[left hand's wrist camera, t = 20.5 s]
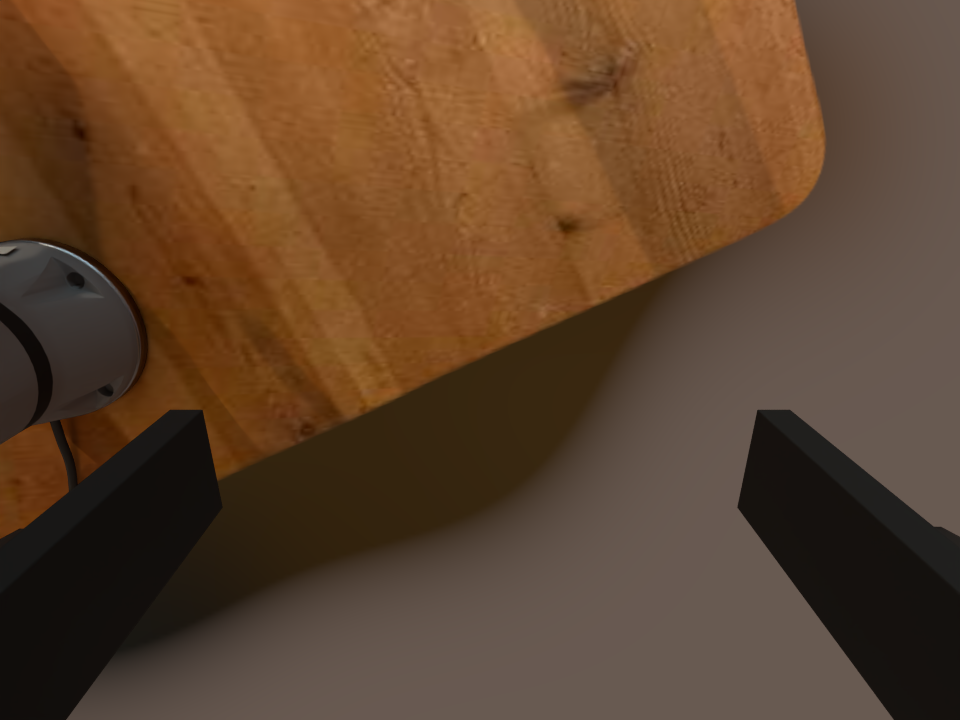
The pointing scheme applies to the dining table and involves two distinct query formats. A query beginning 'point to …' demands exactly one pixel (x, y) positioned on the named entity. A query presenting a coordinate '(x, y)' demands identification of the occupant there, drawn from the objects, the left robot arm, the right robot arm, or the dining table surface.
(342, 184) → the dining table surface
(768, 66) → the dining table surface
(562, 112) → the dining table surface
